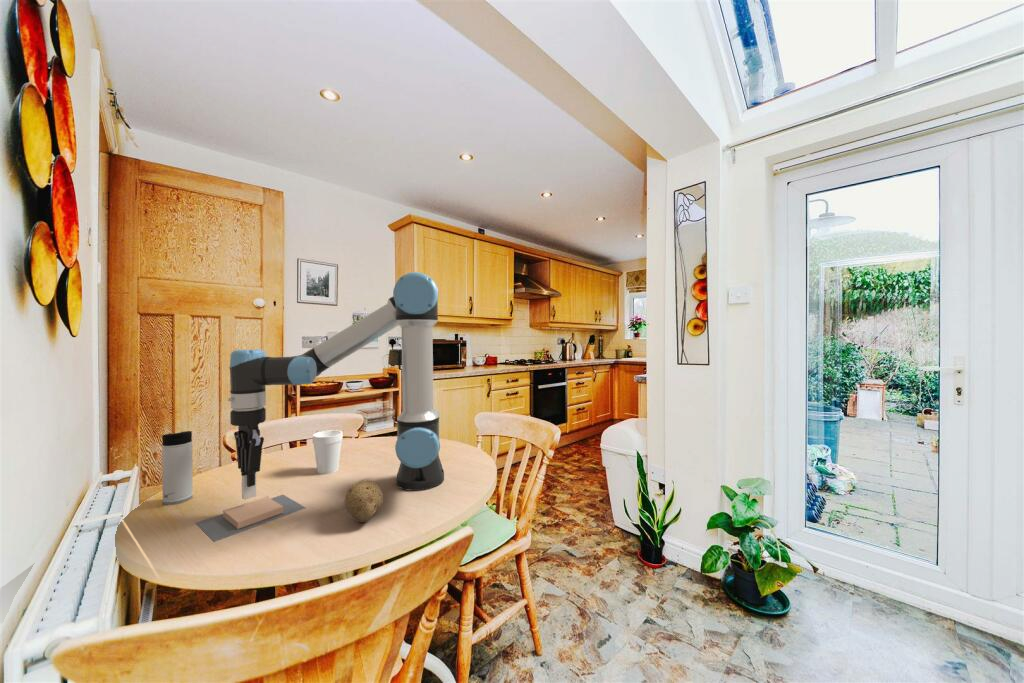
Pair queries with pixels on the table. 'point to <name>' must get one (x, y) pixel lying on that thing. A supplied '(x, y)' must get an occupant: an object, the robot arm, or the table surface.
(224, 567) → the table surface
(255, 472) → the robot arm
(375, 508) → the natural sponge
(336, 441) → the foam cup
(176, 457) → the travel mug
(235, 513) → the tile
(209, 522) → the felt mat
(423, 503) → the table surface
